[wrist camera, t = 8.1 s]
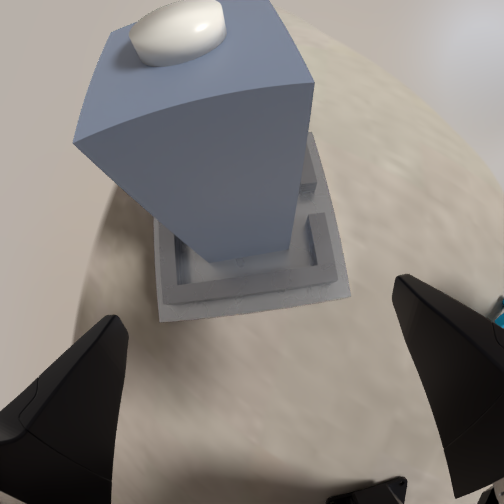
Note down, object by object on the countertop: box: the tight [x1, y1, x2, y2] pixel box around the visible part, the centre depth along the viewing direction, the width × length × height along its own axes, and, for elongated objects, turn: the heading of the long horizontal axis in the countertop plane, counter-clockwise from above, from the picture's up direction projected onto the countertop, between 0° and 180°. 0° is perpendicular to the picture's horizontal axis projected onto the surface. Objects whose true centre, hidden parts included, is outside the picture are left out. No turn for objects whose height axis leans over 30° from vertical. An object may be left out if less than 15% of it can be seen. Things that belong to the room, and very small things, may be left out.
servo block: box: [73, 0, 315, 263], centre depth 11 cm, size 5×5×14 cm
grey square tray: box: [154, 132, 351, 322], centre depth 17 cm, size 12×12×2 cm
